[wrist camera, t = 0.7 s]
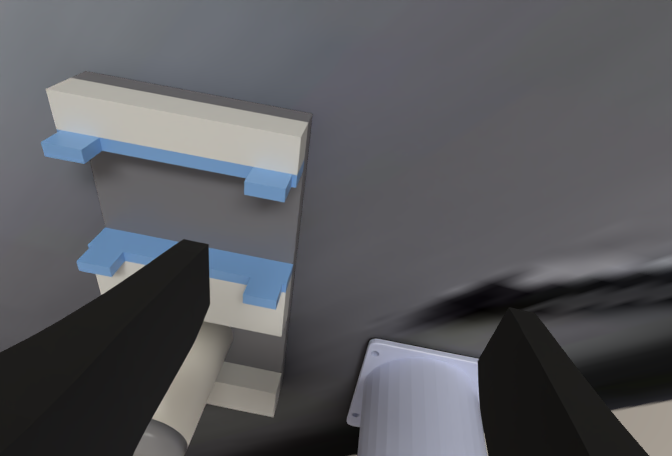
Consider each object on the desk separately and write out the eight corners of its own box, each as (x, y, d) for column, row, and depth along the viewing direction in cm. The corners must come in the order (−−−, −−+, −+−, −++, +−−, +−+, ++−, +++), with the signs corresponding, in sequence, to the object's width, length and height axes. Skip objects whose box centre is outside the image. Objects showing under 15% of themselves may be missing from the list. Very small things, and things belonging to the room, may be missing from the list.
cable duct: (282, 384, 30) (268, 435, 27) (144, 356, 30) (116, 403, 27) (312, 113, 18) (294, 150, 15) (85, 71, 18) (22, 99, 15)
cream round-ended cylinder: (233, 354, 27) (183, 478, 21) (178, 343, 27) (112, 463, 21) (233, 316, 25) (177, 442, 19) (173, 304, 25) (98, 426, 19)
